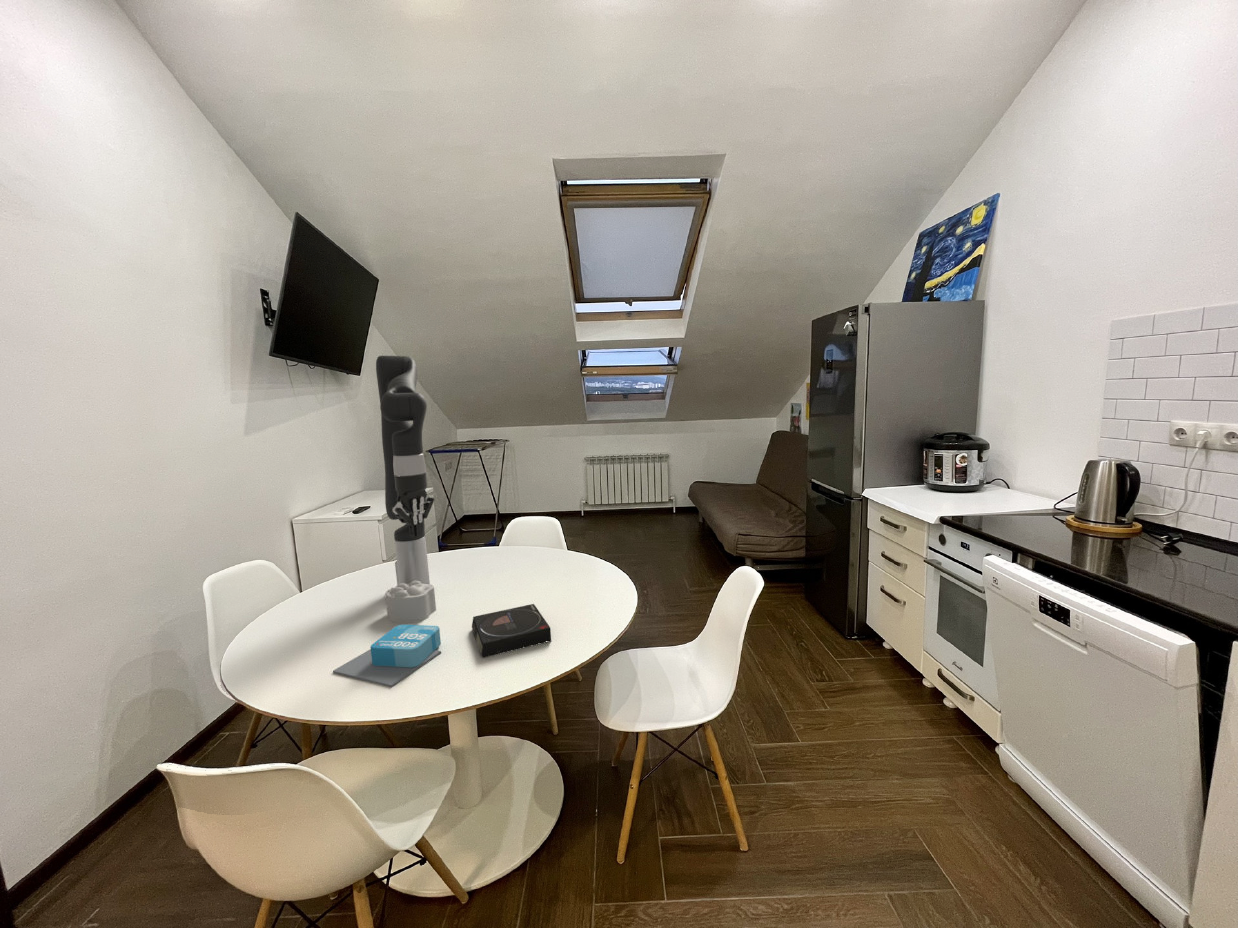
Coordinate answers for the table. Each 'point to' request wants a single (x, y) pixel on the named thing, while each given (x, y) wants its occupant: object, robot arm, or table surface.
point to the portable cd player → (510, 630)
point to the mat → (378, 670)
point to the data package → (405, 646)
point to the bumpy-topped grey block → (410, 602)
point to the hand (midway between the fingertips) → (416, 537)
